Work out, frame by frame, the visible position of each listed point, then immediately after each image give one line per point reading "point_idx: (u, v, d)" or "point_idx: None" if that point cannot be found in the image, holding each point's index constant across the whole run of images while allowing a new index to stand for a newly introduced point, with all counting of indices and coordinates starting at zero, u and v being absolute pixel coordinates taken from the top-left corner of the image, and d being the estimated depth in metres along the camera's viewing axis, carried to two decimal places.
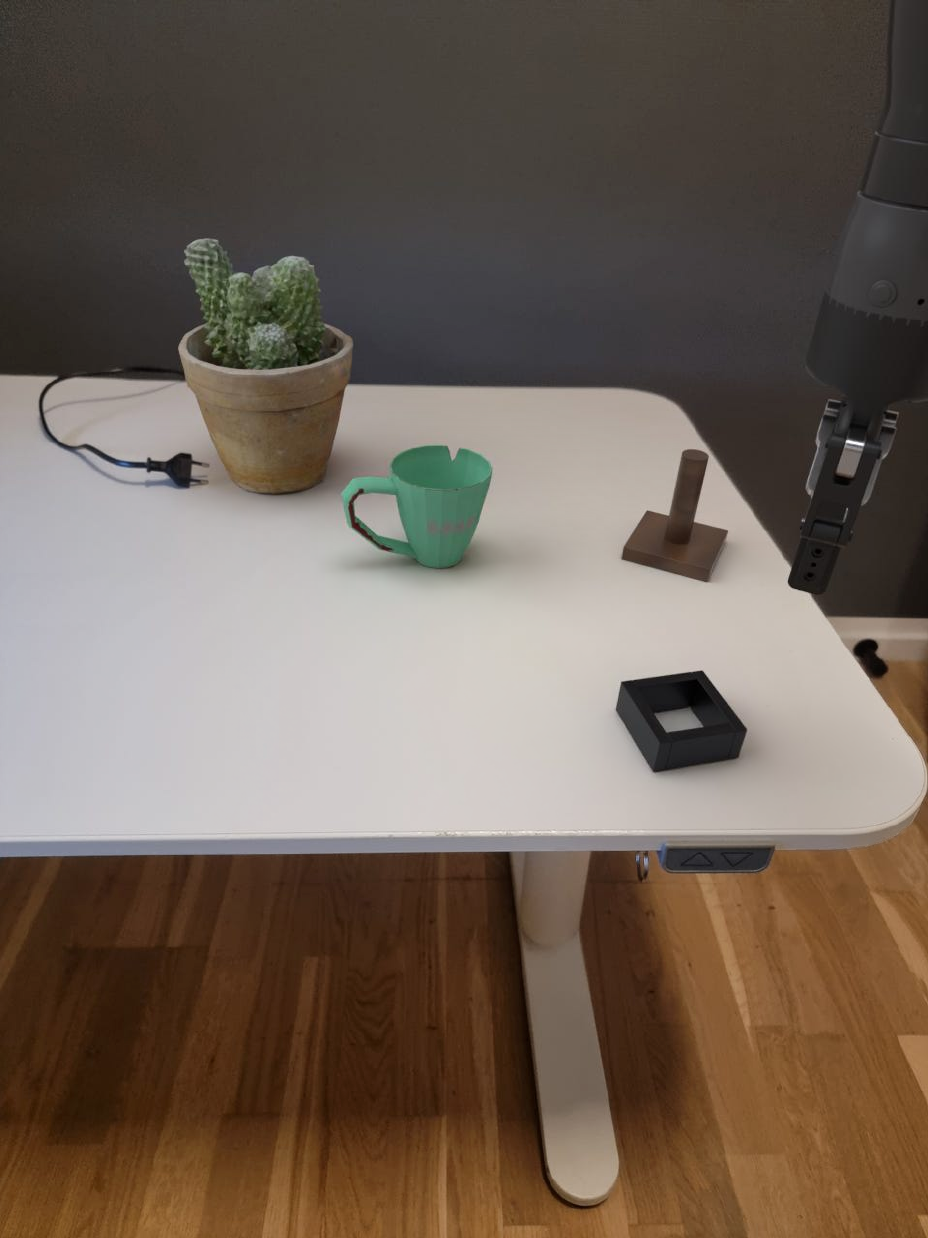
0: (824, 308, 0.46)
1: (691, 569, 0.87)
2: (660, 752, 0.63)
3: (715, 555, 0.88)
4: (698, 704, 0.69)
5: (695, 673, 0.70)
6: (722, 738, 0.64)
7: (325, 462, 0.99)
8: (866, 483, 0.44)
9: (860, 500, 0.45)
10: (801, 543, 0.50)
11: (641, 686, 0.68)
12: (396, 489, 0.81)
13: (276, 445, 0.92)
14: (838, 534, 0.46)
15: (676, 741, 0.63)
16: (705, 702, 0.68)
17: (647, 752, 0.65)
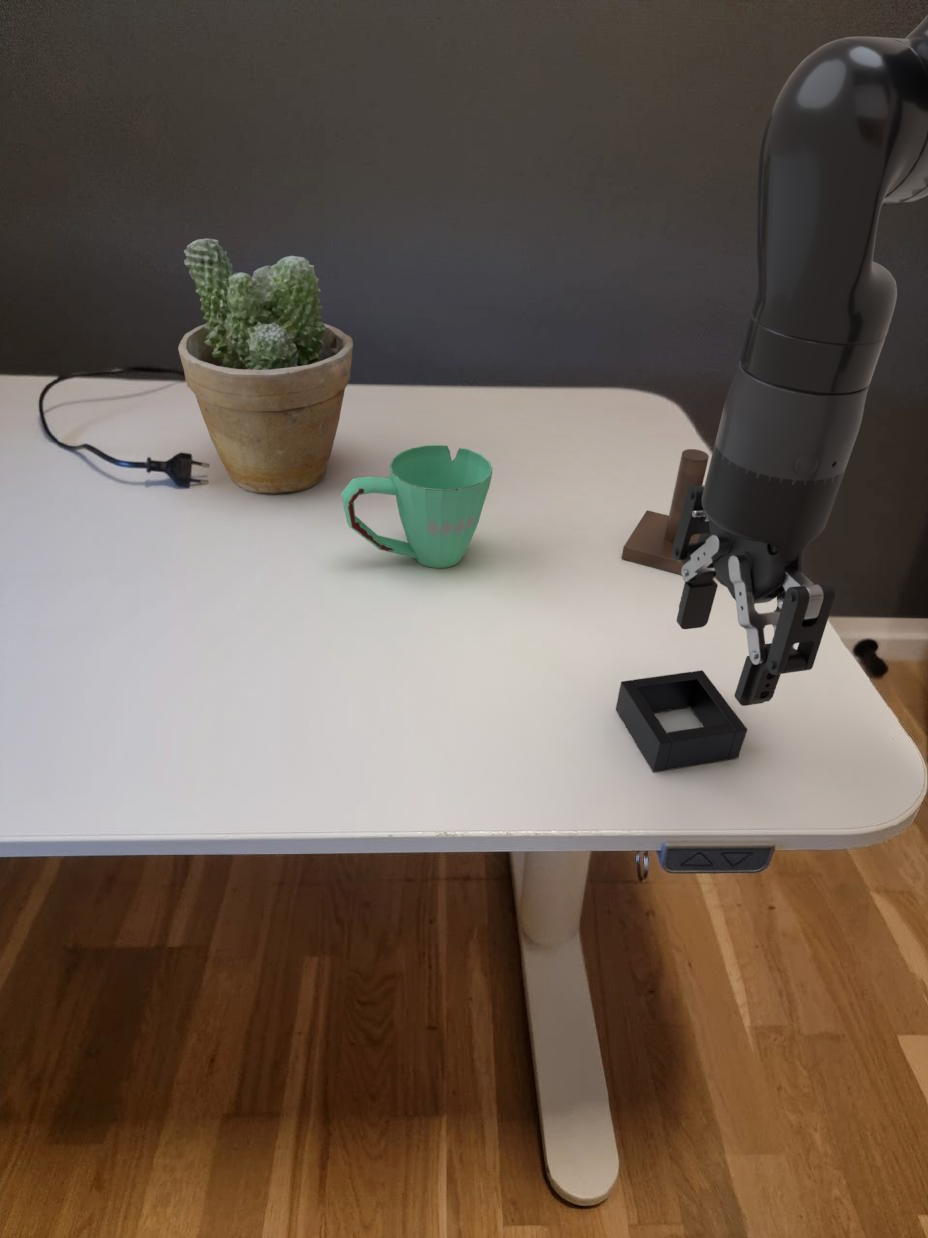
0: (737, 477, 0.49)
1: None
2: (660, 752, 0.63)
3: None
4: (698, 704, 0.69)
5: (695, 673, 0.70)
6: (722, 738, 0.64)
7: (325, 462, 0.99)
8: (826, 619, 0.50)
9: (822, 633, 0.51)
10: (751, 670, 0.55)
11: (641, 686, 0.68)
12: (396, 489, 0.81)
13: (276, 445, 0.92)
14: (805, 663, 0.52)
15: (676, 741, 0.63)
16: (705, 702, 0.68)
17: (647, 752, 0.65)
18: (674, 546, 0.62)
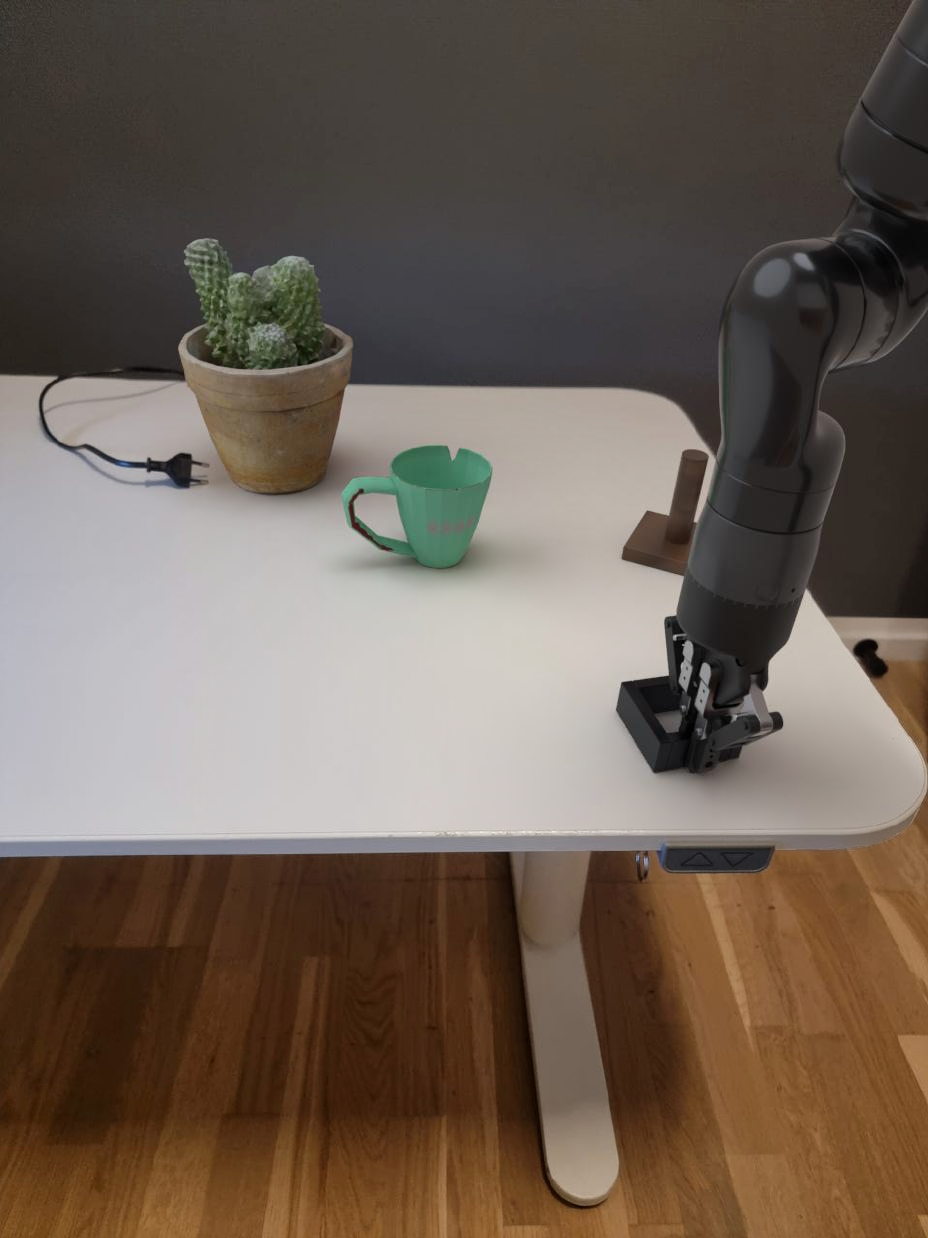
0: (706, 599, 0.54)
1: None
2: (660, 753, 0.63)
3: None
4: None
5: None
6: None
7: (325, 462, 0.99)
8: (768, 734, 0.57)
9: None
10: (696, 744, 0.63)
11: (641, 686, 0.68)
12: (396, 489, 0.81)
13: (276, 445, 0.92)
14: None
15: (676, 742, 0.63)
16: None
17: (647, 753, 0.65)
18: (671, 683, 0.65)
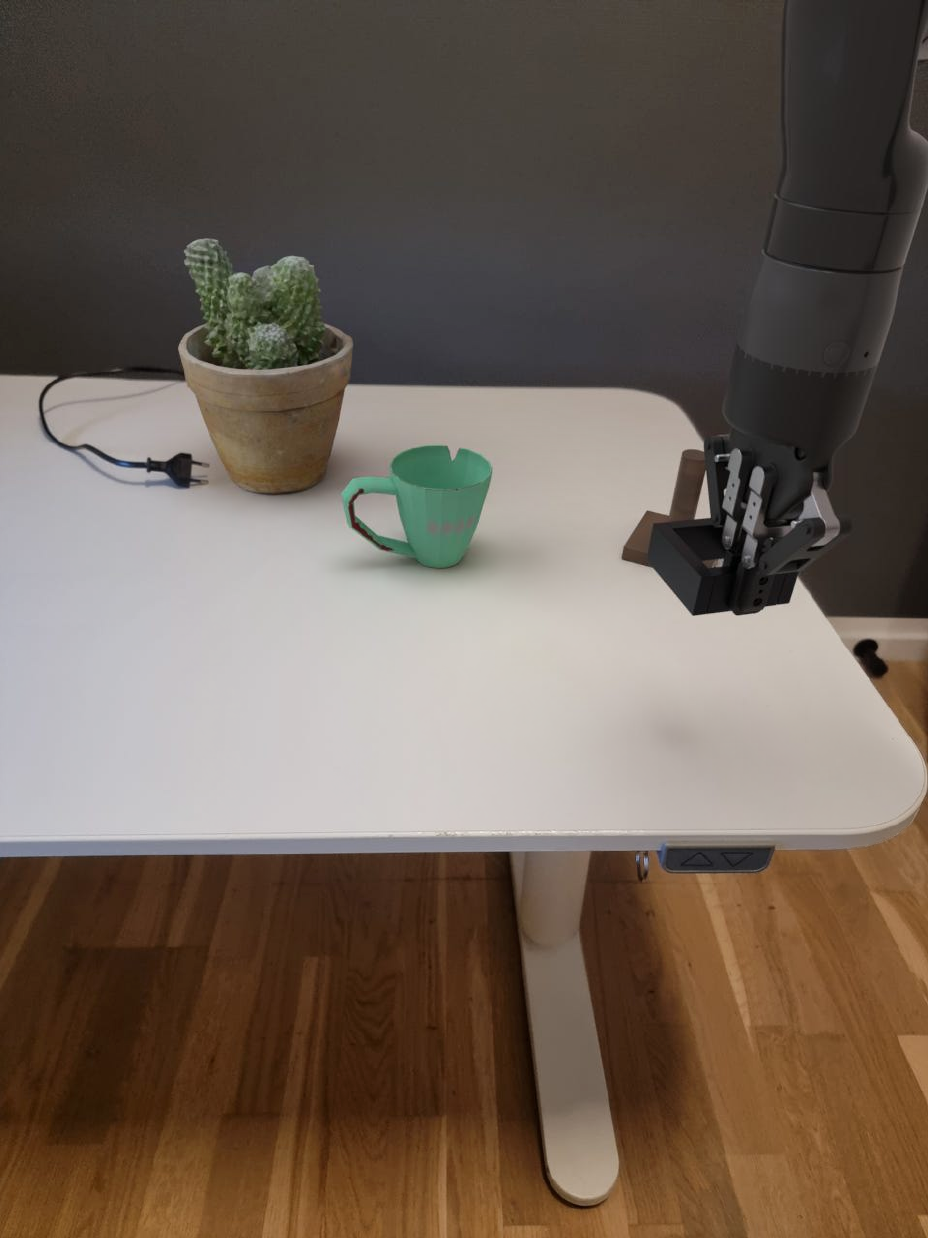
0: (761, 373, 0.46)
1: None
2: (701, 589, 0.55)
3: None
4: None
5: None
6: None
7: (325, 462, 0.99)
8: (832, 546, 0.49)
9: (823, 553, 0.50)
10: (743, 576, 0.55)
11: (676, 527, 0.60)
12: (396, 489, 0.81)
13: (276, 445, 0.92)
14: (797, 562, 0.52)
15: (720, 576, 0.55)
16: None
17: (685, 594, 0.57)
18: (712, 514, 0.57)
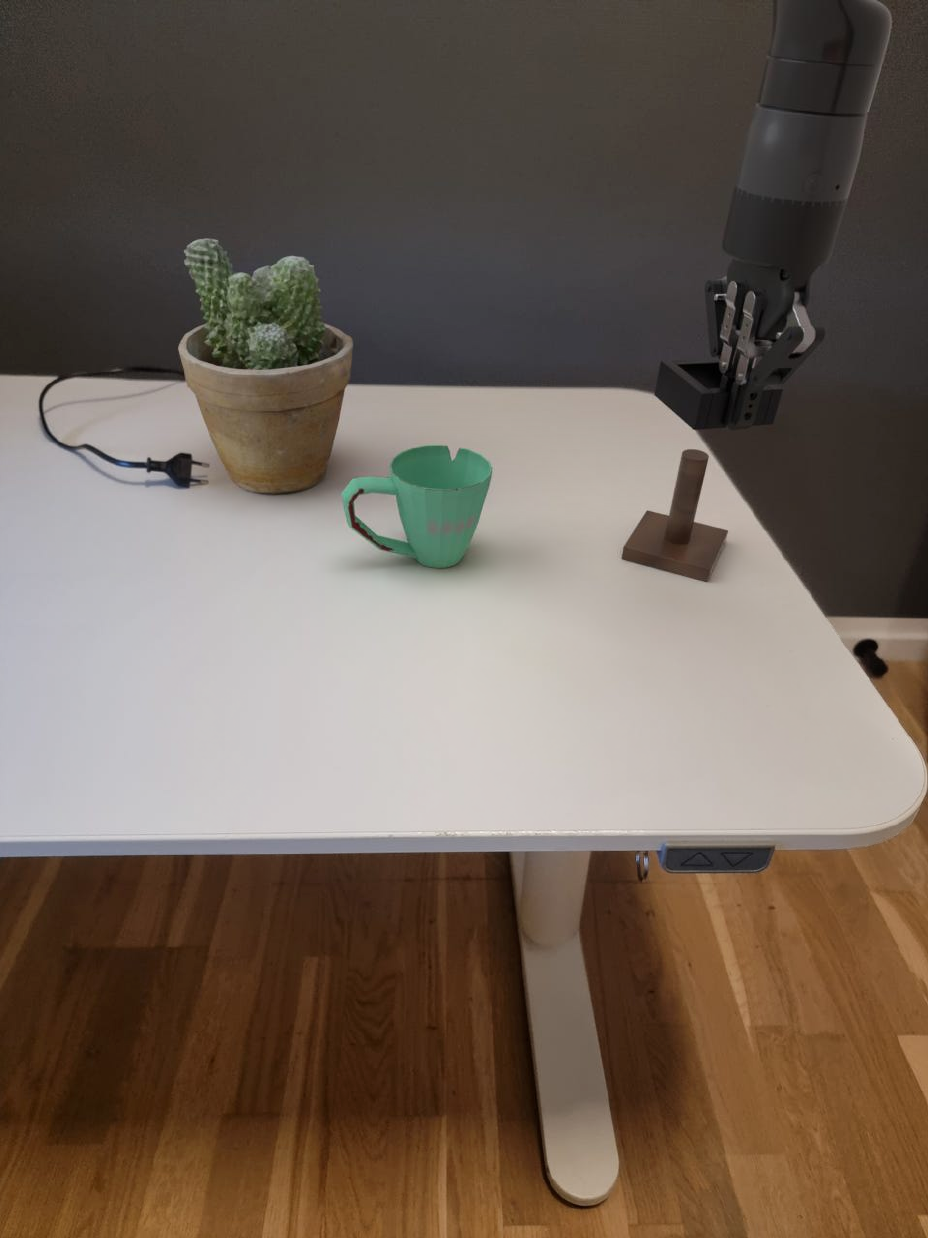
0: (754, 205, 0.57)
1: (691, 569, 0.87)
2: (701, 405, 0.67)
3: (715, 555, 0.88)
4: None
5: None
6: None
7: (325, 462, 0.99)
8: (809, 354, 0.61)
9: (801, 363, 0.62)
10: (737, 393, 0.66)
11: (680, 364, 0.71)
12: (396, 489, 0.81)
13: (276, 445, 0.92)
14: (780, 375, 0.63)
15: (717, 393, 0.66)
16: None
17: (688, 413, 0.68)
18: (711, 347, 0.69)
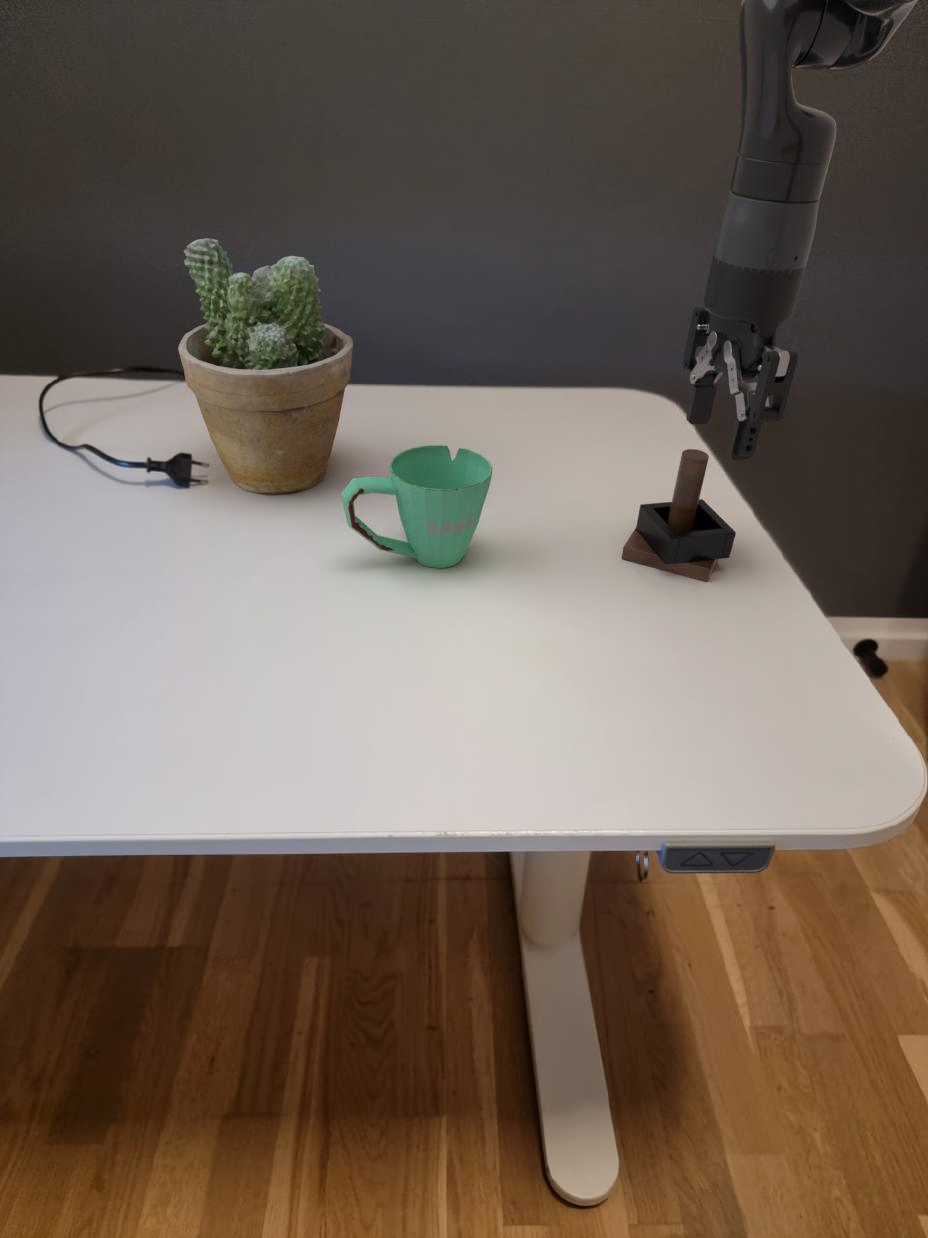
0: (728, 272, 0.70)
1: (691, 569, 0.87)
2: (670, 547, 0.85)
3: None
4: (699, 523, 0.91)
5: None
6: (717, 538, 0.86)
7: (325, 462, 0.99)
8: (792, 377, 0.71)
9: (789, 388, 0.71)
10: (739, 428, 0.75)
11: (655, 507, 0.90)
12: (396, 489, 0.81)
13: (276, 445, 0.92)
14: (777, 413, 0.73)
15: (682, 538, 0.85)
16: (704, 520, 0.90)
17: (660, 551, 0.86)
18: (684, 360, 0.83)
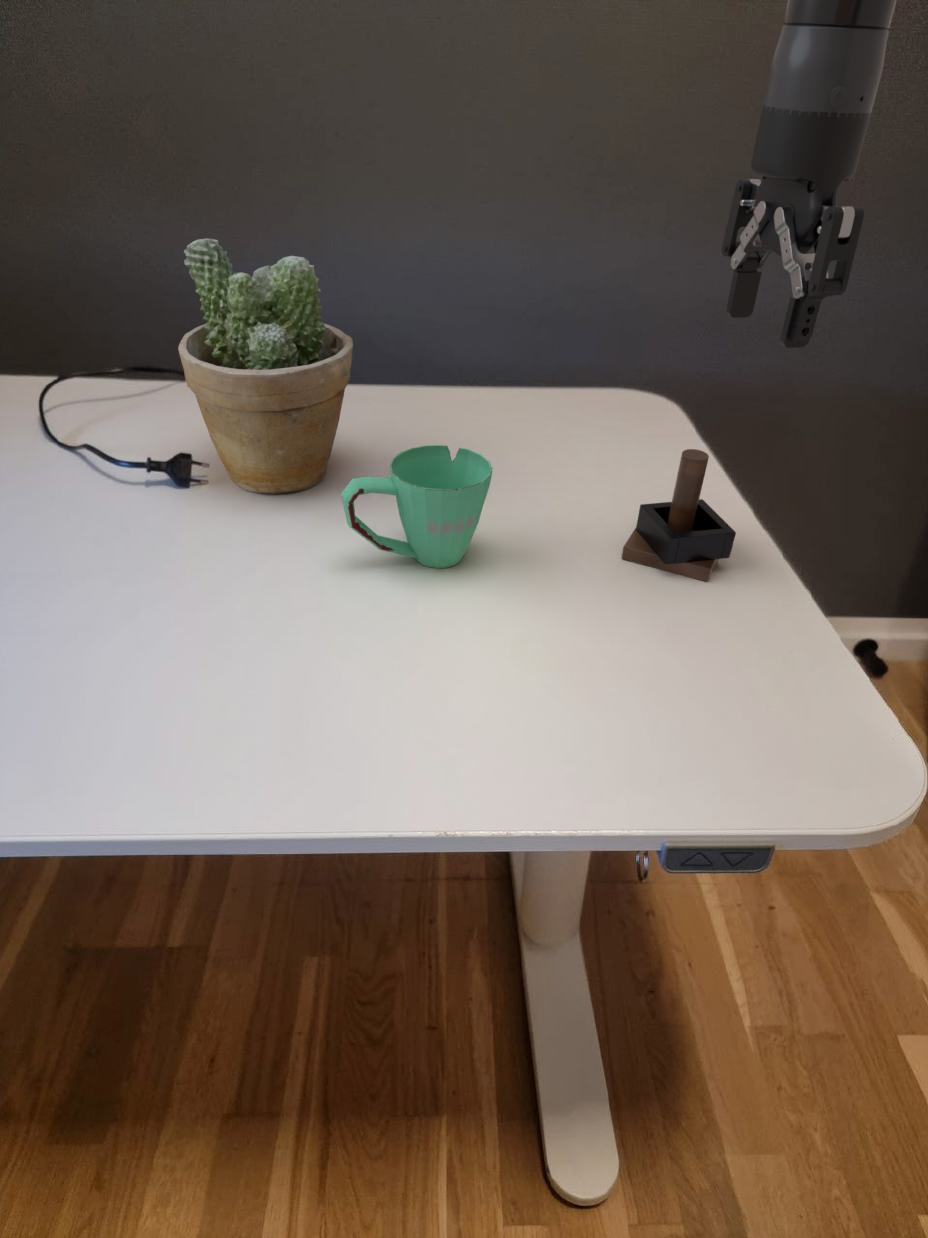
0: (782, 120, 0.61)
1: (691, 569, 0.87)
2: (670, 547, 0.85)
3: None
4: (699, 523, 0.91)
5: None
6: (717, 538, 0.86)
7: (325, 462, 0.99)
8: (857, 238, 0.61)
9: (854, 252, 0.62)
10: (794, 308, 0.66)
11: (655, 507, 0.90)
12: (396, 489, 0.81)
13: (276, 445, 0.92)
14: (840, 284, 0.63)
15: (682, 538, 0.85)
16: (704, 520, 0.90)
17: (660, 551, 0.86)
18: (724, 244, 0.74)
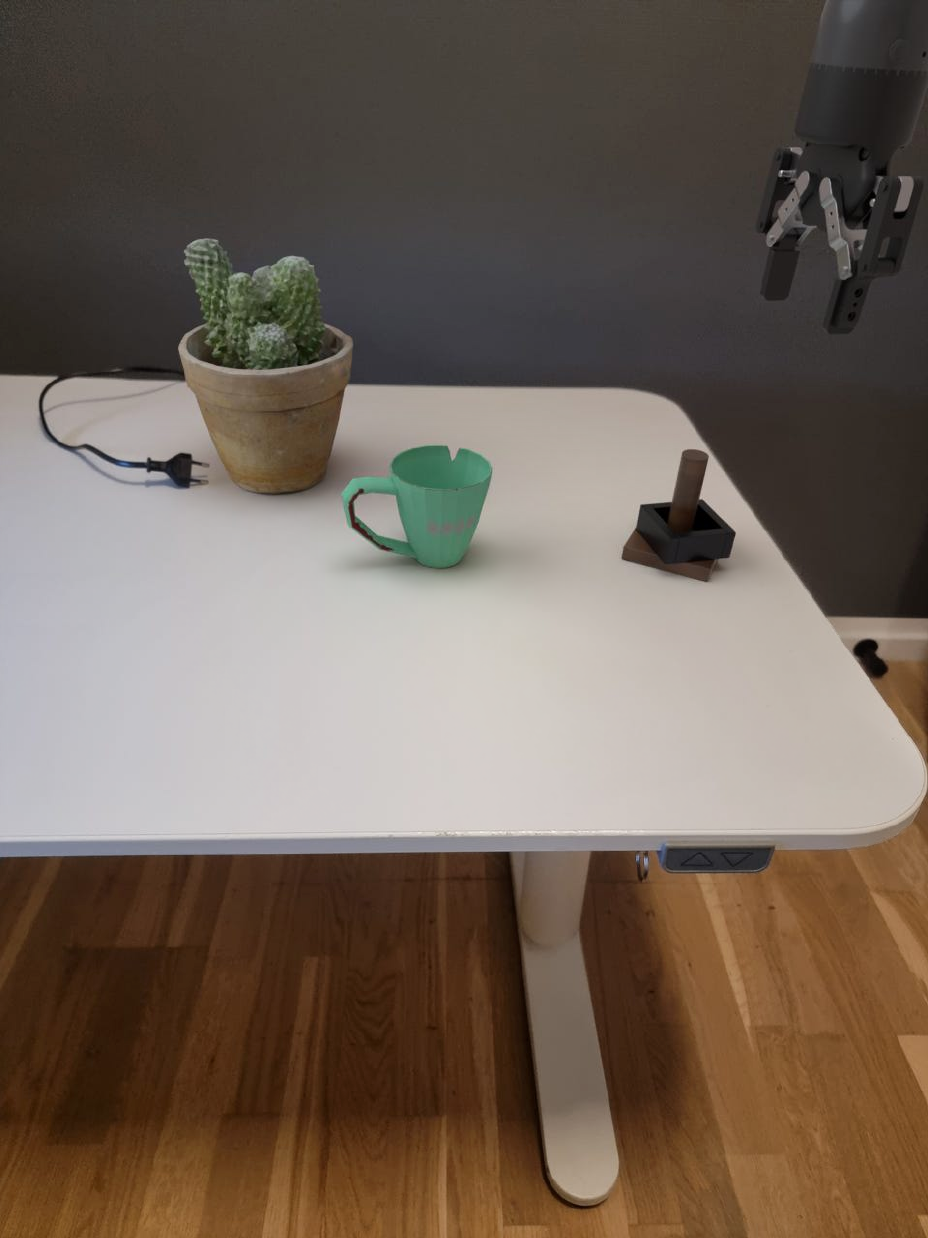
0: (834, 78, 0.55)
1: (691, 569, 0.87)
2: (670, 547, 0.85)
3: None
4: (699, 523, 0.91)
5: None
6: (717, 538, 0.86)
7: (325, 462, 0.99)
8: (915, 212, 0.55)
9: (910, 228, 0.56)
10: (840, 290, 0.60)
11: (655, 507, 0.90)
12: (396, 489, 0.81)
13: (276, 445, 0.92)
14: (893, 263, 0.57)
15: (682, 538, 0.85)
16: (704, 520, 0.90)
17: (660, 551, 0.86)
18: (758, 219, 0.67)
